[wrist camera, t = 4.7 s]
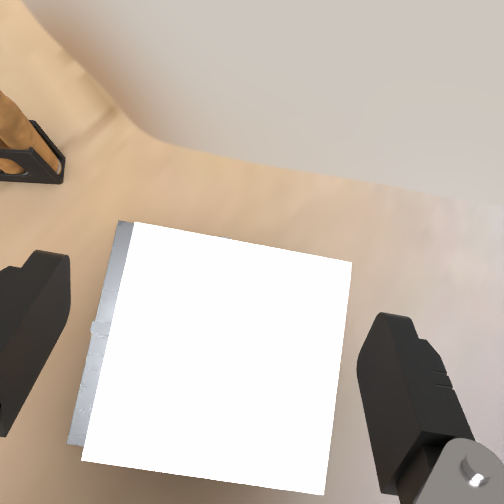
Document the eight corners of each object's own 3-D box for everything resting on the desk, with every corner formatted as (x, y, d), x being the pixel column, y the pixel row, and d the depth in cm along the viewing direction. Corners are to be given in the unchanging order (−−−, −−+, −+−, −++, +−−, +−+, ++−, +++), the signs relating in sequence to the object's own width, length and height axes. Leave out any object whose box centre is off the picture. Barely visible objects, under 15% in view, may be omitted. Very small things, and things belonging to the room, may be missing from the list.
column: (244, 316, 28) (356, 259, 9) (232, 386, 27) (327, 501, 8) (176, 304, 28) (131, 216, 8) (161, 375, 27) (74, 464, 7)
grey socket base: (320, 261, 31) (387, 218, 20) (291, 472, 28) (351, 554, 17) (121, 224, 30) (78, 157, 19) (71, 440, 27) (-12, 505, 16)
